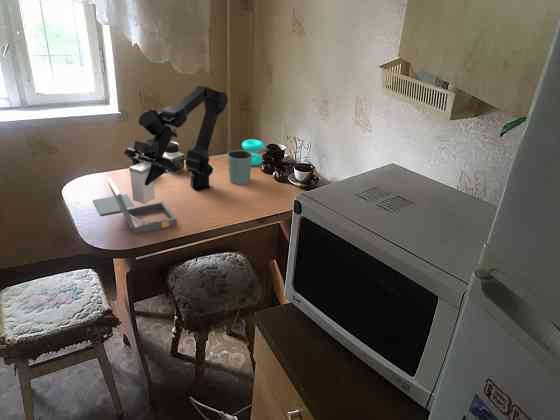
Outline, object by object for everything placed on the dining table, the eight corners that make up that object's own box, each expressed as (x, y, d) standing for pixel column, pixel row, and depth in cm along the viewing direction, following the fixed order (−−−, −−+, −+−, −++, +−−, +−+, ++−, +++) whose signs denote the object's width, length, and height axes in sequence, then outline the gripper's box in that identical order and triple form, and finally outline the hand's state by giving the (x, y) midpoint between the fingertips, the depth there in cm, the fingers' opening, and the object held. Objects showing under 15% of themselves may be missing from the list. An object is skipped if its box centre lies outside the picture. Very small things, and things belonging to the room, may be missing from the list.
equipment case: (163, 207, 156) (160, 168, 149) (177, 225, 145) (175, 184, 138) (111, 217, 147) (105, 176, 140) (122, 238, 136) (116, 195, 129)
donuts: (240, 138, 199) (261, 138, 201) (239, 159, 203) (260, 158, 206) (244, 146, 190) (266, 145, 193) (244, 167, 195) (265, 166, 198)
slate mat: (126, 195, 163) (126, 194, 162) (135, 208, 154) (135, 207, 154) (93, 201, 157) (92, 199, 157) (100, 215, 148) (100, 214, 148)
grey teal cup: (256, 180, 183) (257, 153, 177) (241, 188, 175) (242, 160, 170) (237, 174, 187) (237, 147, 182) (222, 181, 180) (222, 154, 174)
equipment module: (143, 194, 149) (140, 162, 143) (155, 198, 147) (152, 165, 141) (132, 200, 145) (129, 167, 139) (144, 204, 143) (141, 171, 137)
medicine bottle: (173, 174, 183) (171, 147, 177) (160, 169, 186) (159, 143, 180) (184, 169, 188) (183, 143, 183) (172, 165, 191) (171, 139, 186)
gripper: (124, 124, 142) (102, 166, 138) (169, 135, 135) (147, 180, 131) (144, 140, 152) (124, 179, 148) (186, 152, 145) (166, 193, 141)
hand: (139, 183), depth 142 cm, fingers closed on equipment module, 5 cm apart
